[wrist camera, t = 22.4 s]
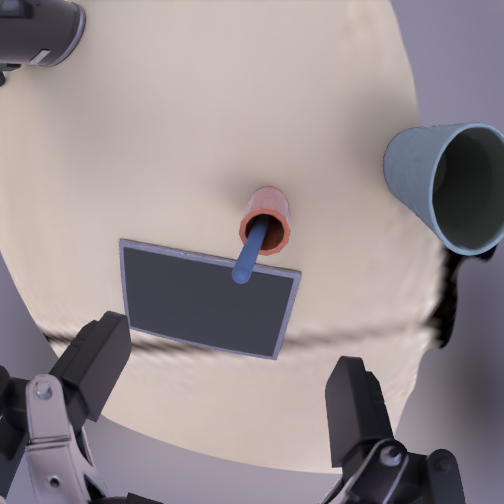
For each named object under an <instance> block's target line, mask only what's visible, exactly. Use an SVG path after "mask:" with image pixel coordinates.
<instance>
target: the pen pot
mask: <svg viewBox="0 0 504 504" xmlns="http://www.w3.org/2000/svg"><path fill="white" fill-rule="evenodd" d="M262 213H263V214H269V215H272V216H271V219H270V222H269V225H268V227H267V230H266V233H265V236H264V239H263V242H262V245H261V247H260V250H259V253H258V254H260V255H265V256H268V255H271V254H274V253H277V252H280V251H281V250H282V248H283V247H284V246H285V245H286V244H287V243H288V240H289V235H290V221H289V210H288V203H287V200H286V197H285V195H284V194H283V193H282V192H281V191H280V190H278V189H276V188H274V187H263V188H260V189H258V190H257V191H256V192H255V193H254V194H253V195H252V197H251V198H250V200H249V203H248V205H247V208H246V210H245V213H244V215H243V218H242V221H241V224H240V231H239V235H240V238H241V240H242V242H243V245H244V244H245V242H246V240H247V238H248V236H249V233H250V231H251V229H252V227H253V225H254V223H255V220H256V218H257V216H258V215H259V214H262Z"/></svg>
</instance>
